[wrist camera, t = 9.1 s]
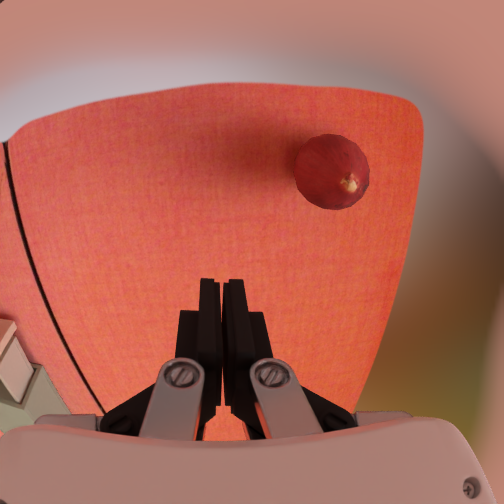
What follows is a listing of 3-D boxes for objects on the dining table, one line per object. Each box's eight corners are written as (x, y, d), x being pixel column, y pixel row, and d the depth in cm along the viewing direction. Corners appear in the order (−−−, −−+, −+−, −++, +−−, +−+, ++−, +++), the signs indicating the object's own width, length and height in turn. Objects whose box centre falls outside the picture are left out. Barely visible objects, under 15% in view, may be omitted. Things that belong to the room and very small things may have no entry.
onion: (357, 149, 25) (406, 170, 18) (328, 203, 27) (366, 241, 20) (303, 118, 23) (340, 125, 16) (272, 177, 25) (296, 207, 18)
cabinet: (-13, 352, 31) (-34, 389, 24) (42, 365, 33) (24, 410, 25) (21, 405, 38) (9, 439, 30) (74, 418, 40) (64, 457, 32)
